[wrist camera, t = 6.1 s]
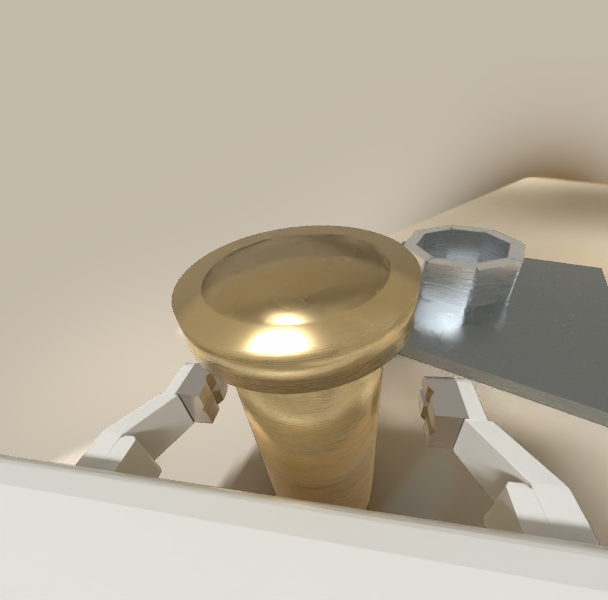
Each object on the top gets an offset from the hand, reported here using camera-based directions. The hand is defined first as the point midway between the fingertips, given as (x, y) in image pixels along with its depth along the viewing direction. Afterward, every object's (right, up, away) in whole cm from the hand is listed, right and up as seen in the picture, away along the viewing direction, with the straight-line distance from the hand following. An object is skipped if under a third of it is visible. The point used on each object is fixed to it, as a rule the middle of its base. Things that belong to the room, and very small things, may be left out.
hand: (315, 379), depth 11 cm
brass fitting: (0, -6, +3) cm, 7 cm away
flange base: (+14, +3, +13) cm, 20 cm away
